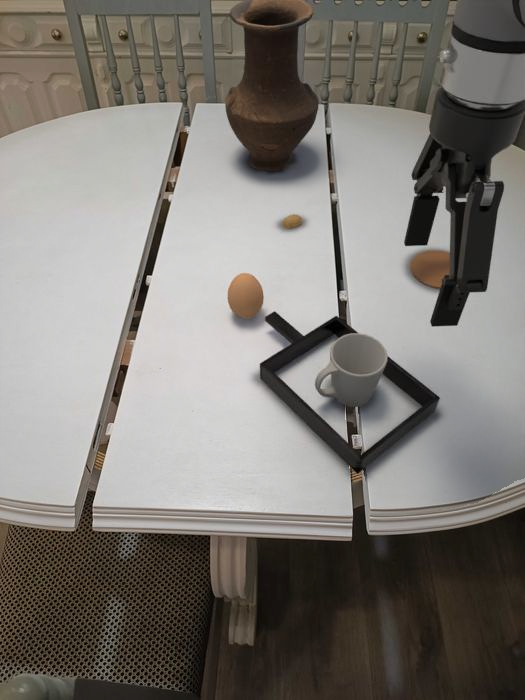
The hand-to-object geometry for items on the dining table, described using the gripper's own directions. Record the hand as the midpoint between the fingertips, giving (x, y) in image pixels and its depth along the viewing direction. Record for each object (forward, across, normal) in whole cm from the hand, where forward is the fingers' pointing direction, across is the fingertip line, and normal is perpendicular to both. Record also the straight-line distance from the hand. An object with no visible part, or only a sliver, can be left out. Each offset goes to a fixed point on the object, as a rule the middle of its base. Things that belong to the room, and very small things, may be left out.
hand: (428, 281), depth 61 cm
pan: (+21, -2, -10) cm, 23 cm away
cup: (+21, 0, -8) cm, 23 cm away
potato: (+21, -41, -12) cm, 48 cm away
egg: (+21, -17, -22) cm, 35 cm away
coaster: (+21, -26, +13) cm, 36 cm away
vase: (+21, -65, -15) cm, 70 cm away
